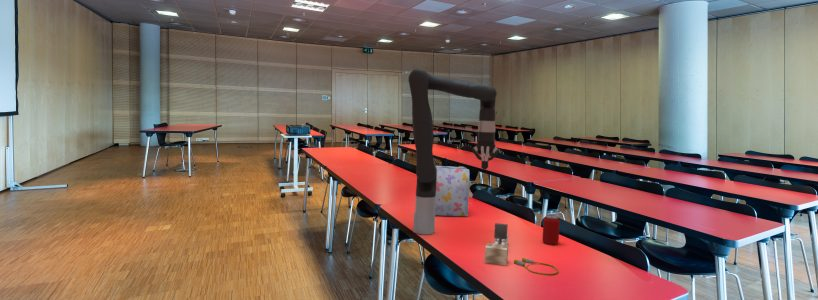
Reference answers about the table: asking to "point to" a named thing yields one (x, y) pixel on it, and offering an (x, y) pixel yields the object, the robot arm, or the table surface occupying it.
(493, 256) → the socket block
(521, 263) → the extension cord
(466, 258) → the table surface
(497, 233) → the dark grey block
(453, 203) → the lunch bag
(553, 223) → the beverage can
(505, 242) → the guide sleeve
